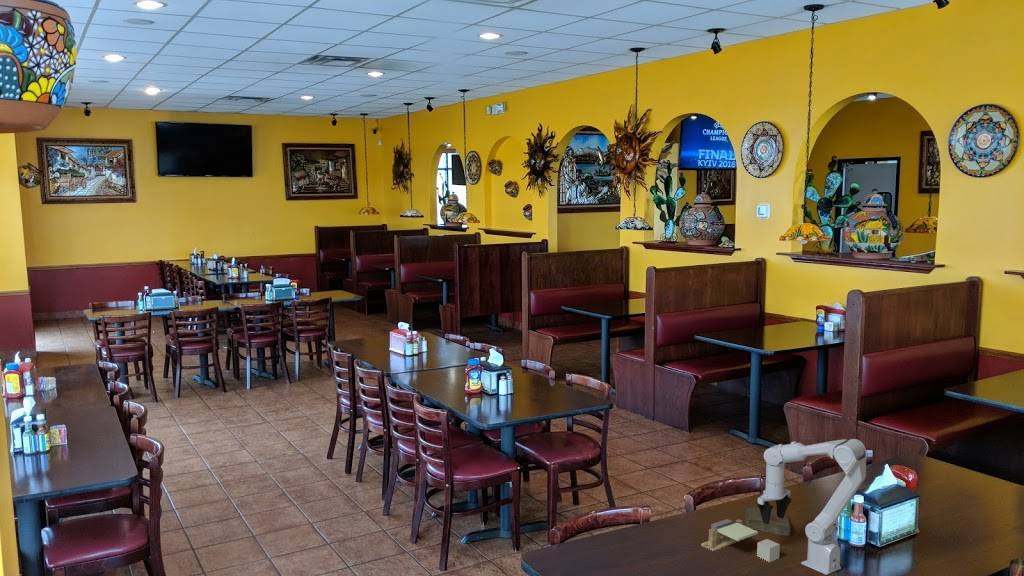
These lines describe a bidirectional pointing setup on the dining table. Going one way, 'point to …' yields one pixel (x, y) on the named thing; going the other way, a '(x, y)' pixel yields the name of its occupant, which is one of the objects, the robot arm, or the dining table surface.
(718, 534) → the frame
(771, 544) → the white cube
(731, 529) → the trapdoor
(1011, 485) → the dining table surface
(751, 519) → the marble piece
